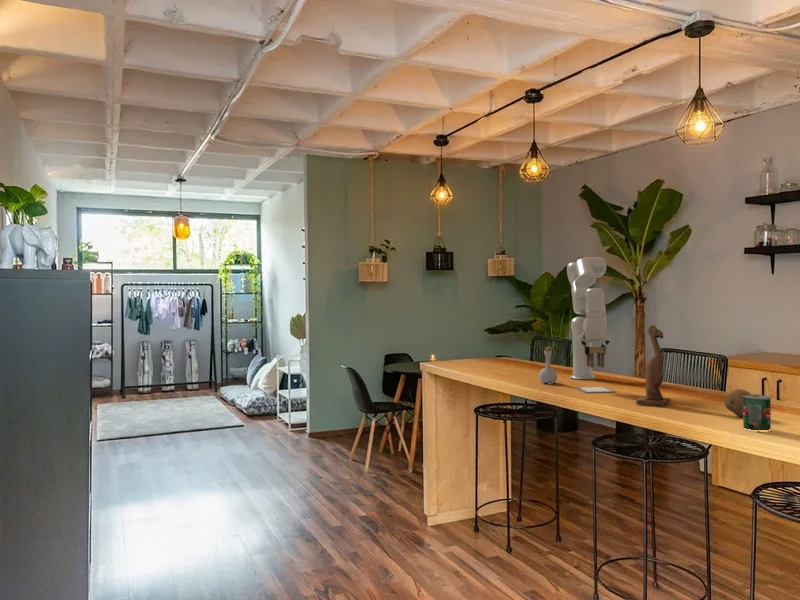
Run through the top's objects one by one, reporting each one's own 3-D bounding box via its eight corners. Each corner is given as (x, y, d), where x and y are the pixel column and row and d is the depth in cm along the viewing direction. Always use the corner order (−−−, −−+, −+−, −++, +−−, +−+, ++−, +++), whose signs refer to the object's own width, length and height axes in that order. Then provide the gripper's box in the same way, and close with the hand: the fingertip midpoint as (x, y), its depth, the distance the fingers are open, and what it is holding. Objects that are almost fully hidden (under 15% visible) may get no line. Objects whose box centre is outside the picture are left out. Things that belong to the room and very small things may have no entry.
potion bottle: (559, 384, 306) (559, 347, 306) (541, 384, 306) (540, 347, 306) (555, 381, 315) (554, 345, 315) (537, 382, 315) (536, 345, 315)
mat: (575, 388, 295) (575, 387, 295) (604, 387, 296) (604, 386, 296) (585, 393, 281) (585, 392, 281) (616, 392, 282) (616, 391, 282)
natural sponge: (729, 419, 224) (729, 390, 224) (721, 413, 233) (721, 386, 233) (757, 419, 223) (757, 391, 223) (748, 414, 232) (748, 387, 231)
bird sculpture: (667, 408, 246) (670, 326, 245) (635, 405, 252) (638, 324, 251) (670, 404, 256) (673, 325, 255) (640, 400, 262) (642, 323, 261)
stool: (585, 366, 291) (585, 346, 291) (599, 366, 291) (599, 346, 291) (590, 367, 284) (590, 347, 284) (604, 367, 284) (604, 347, 284)
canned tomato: (774, 432, 203) (774, 398, 203) (748, 432, 204) (748, 398, 204) (765, 427, 211) (765, 394, 211) (739, 426, 212) (739, 394, 212)
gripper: (610, 315, 292) (610, 354, 292) (573, 315, 291) (573, 354, 291) (616, 315, 284) (617, 355, 284) (578, 316, 283) (579, 356, 283)
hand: (595, 354), depth 288 cm, fingers closed on stool, 6 cm apart
